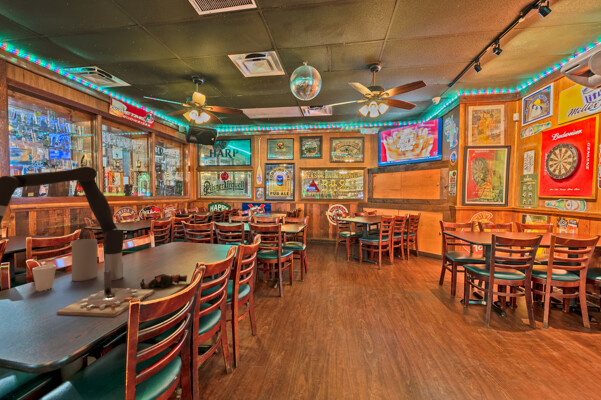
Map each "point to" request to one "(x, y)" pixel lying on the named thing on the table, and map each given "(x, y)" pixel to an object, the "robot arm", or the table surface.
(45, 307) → the table surface
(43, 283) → the foam cup
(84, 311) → the base board
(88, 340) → the table surface
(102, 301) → the sprocket
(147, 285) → the leprechaun
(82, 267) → the cylinder vase
